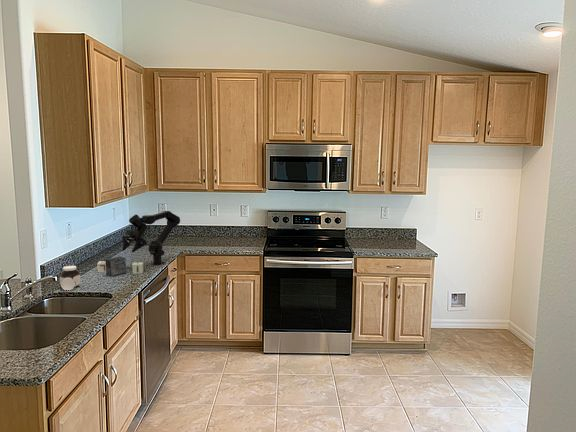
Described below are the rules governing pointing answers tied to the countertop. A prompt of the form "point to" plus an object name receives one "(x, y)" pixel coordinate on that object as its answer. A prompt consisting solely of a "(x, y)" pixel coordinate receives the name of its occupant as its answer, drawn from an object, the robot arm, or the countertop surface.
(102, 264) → the cream block seven
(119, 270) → the small box
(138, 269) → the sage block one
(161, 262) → the robot arm
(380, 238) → the countertop surface
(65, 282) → the spread jar
